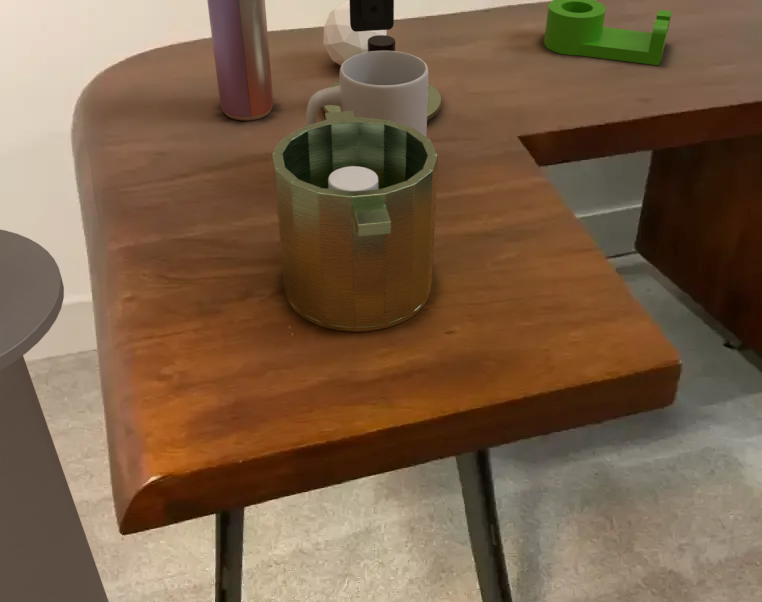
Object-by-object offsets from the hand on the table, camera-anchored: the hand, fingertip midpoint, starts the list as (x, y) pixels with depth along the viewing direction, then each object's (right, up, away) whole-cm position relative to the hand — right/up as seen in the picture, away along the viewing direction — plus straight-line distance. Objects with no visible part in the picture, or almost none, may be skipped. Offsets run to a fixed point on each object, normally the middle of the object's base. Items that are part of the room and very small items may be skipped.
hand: (362, 5), depth 72 cm
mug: (0, -8, +22) cm, 23 cm away
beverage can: (-14, +2, +33) cm, 36 cm away
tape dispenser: (+30, +15, +46) cm, 57 cm away
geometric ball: (-2, +11, +42) cm, 43 cm away
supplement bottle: (-1, -21, +8) cm, 22 cm away
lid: (+1, +3, +33) cm, 33 cm away
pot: (-1, -21, +8) cm, 22 cm away
